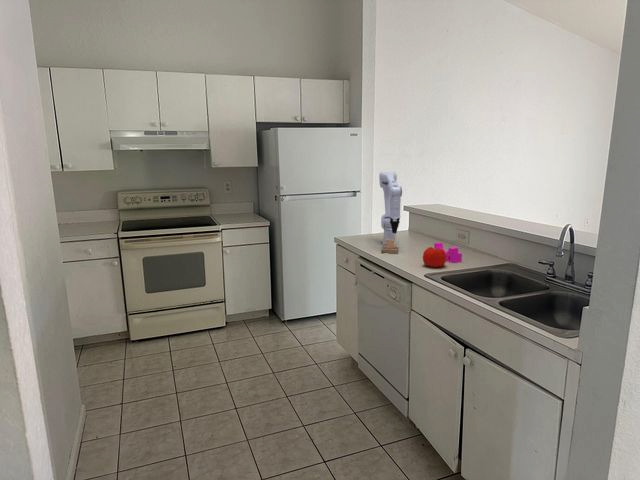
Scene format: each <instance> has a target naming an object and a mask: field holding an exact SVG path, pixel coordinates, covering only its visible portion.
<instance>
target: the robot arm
mask: <svg viewBox="0 0 640 480" xmlns="http://www.w3.org/2000/svg"><path fill="white" fill-rule="evenodd" d="M397 179H398V177H397V172H396V171H394V172H391V171H389V172H388V171H387V172H385V171H384V172H382V171H380V173H379V178H378V180H379V187H380V188H382V191H383V197H384V198H383V199H384V211H385V213H384V214H383V215H382V216H381V219H380V220H381V223H380V225H381V228H382V229H383V241H382V246H386V239H387V238H391V239H395V246H397V240H396V239H397V237H396V236H397V233H398V228H399V227H400V219H401V201H402V199H401V198H402V195H403V188H402V186H399V184H398V181H397Z"/></svg>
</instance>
